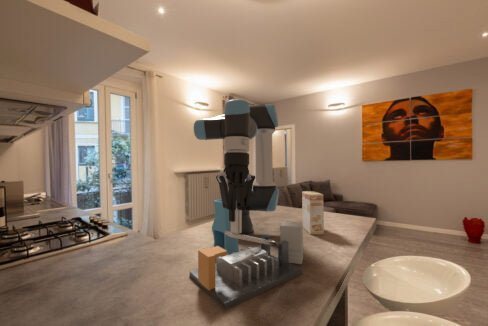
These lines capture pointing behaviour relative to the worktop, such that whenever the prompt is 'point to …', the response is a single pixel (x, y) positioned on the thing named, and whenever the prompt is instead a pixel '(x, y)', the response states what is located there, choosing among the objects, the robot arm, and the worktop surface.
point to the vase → (223, 229)
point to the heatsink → (249, 273)
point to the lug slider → (208, 265)
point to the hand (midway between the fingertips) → (236, 232)
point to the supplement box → (293, 240)
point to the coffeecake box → (313, 212)
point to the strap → (252, 238)
